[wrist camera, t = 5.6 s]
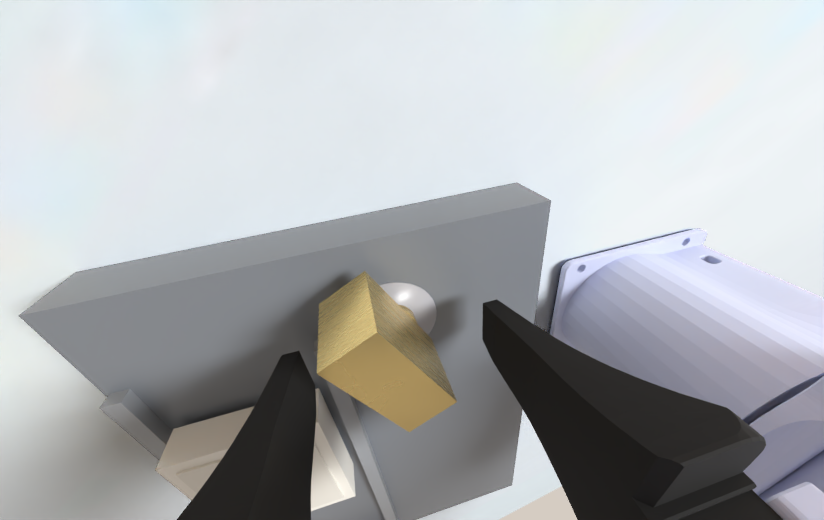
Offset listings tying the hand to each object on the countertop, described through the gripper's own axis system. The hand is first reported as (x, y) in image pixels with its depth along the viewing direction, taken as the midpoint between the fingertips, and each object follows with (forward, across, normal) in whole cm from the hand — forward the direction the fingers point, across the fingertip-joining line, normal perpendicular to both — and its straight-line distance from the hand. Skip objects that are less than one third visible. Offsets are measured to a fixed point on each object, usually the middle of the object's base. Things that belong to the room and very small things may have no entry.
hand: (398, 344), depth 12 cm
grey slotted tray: (+4, +2, +8) cm, 10 cm away
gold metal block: (+1, +1, -1) cm, 2 cm away
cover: (+1, +7, +6) cm, 9 cm away
